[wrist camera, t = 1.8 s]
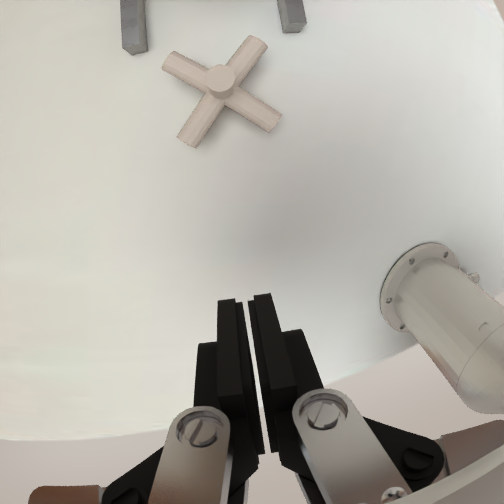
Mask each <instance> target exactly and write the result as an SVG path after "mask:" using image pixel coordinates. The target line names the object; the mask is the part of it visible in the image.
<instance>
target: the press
mask: <svg viewBox="0 0 504 504" xmlns="http://www.w3.org/2000/svg"><path fill="white" fill-rule="evenodd" d="M120 6H121V32H122V48H123V49H124V50H126V51H127V52H128V53H130V54H131V55H135V54H139V53H143V52H147V51H148V49H147V37H146V24H145V8H144V0H120ZM278 6H279V12H280V18H281V24H282V30H283V33H299V32H300V31H301V30H302V28H303V27H304V26H305V25H306V23H307V22H306V17H305V11H304V6H303V1H302V0H278Z"/></svg>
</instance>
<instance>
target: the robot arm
mask: <svg viewBox="0 0 504 504" xmlns="http://www.w3.org/2000/svg"><path fill="white" fill-rule="evenodd" d="M477 282H479V275H478V274H477V273H473V274H470V275H467V274H465V273H464V272H463V271H461V270H460V269H459V264H458V261H457V258H456V257H455V255H454V253H453V252H451V251H450V250H449V249H448V248H446V247H445V246H443V245H440V244H437V243H428V244H423V245H420V246H418V247H415V248H414V249H412V250H410V251H409V252H407V253H406V254H405V255H404V256H403V257H402V258H400V260H399V261H398V262H397V263H396V264H395V265H394V267H393V268H392V270H391V271H390V273H389V274H388V276H387V278H386V280H385V282H384V285H383V288H382V292H381V298H380V306H381V311H382V315H383V317H384V318H385V320H386V321H387V323H388V324H389V325H390V326H391V327H392V328H394V329H395V330H398V331H401V332H411V333H412V335H413V336H414V337H415V338H416V340H417V341H418V342H419V344H420V345H421V346H422V347H423V348H424V350H425V351H426V352H427V354H428V355H429V356H430V358H431V359H432V360H433V362H434V363H435V364H436V366H437V367H438V368H439V370H440V371H441V372H442V373H443V375H444V376H445V378H446V379H447V380H448V382H449V383H450V384H451V386H452V387H453V388H454V390H455V391H456V392H457V394H458V395H459V397H460V398H461V399H462V401H463V402H464V403H465V404H466V405H467V406H468V407H469V408H470V409H472V410H474V411H476V412H479V413H484V414H504V307H503V306H502V305H501V304H500V303H499V302H497V301H496V300H495V299H494V298H492V297H491V296H490V295H489V294H488V293H486V292H485V291H484V290H482V289H481V287H480V286H478V285H476V284H475V283H477ZM248 307H249V314H250V321H251V328H252V335H253V341H254V348H255V355H256V361H257V368H258V374H259V381H260V387H261V394H262V400H263V406H264V412H265V418H266V424H267V431H268V437H269V443H270V449H271V453H274V452H279V457H280V461H281V464H282V466H284V467H286V468H288V469H290V470H292V471H294V472H295V475H296V478H297V480H298V483H299V485H300V487H301V490H302V492H303V494H304V497H305V499H306V501H307V503H308V504H504V420H495V421H492V422H489V423H485V424H482V425H479V426H475V427H472V428H468V429H465V430H461V431H457V432H453V433H449V434H445V435H441V437H440V438H439V439H436V440H431V439H429V438H427V437H423V436H420V435H416V434H413V433H410V432H407V431H404V430H401V429H397V428H394V427H391V426H388V425H385V424H382V423H379V422H376V421H374V420H371V419H368V418H365V417H362V415H361V414H360V412H359V411H358V410H357V408H356V406H355V405H354V404H353V402H352V400H350V398H349V397H348V396H347V395H345V394H343V393H342V392H340V391H337V390H333V389H324V387H323V384H322V382H321V379H320V376H319V373H318V371H317V368H316V365H315V363H314V360H313V357H312V355H311V352H310V349H309V346H308V344H307V341H306V339H305V336H304V333H303V331H302V329H297V330H291V331H285V332H281V328H280V324H279V321H278V317H277V314H276V310H275V307H274V303H273V300H272V296H271V293H268V294H261V295H254V300H251V301H248ZM260 454H265V450H264V442H263V435H262V428H261V421H260V415H259V407H258V400H257V393H256V385H255V378H254V371H253V364H252V358H251V353H250V347H249V341H248V335H247V328H246V322H245V316H244V310H243V304H242V302H238V303H236V301H235V298H234V299H227V300H219V301H218V310H217V342H208V343H199V345H198V352H197V364H196V377H195V391H194V406H193V408H189V409H186V410H185V411H183V412H181V413H180V414H179V415H178V416H177V417H176V418H175V419H174V420H173V422H172V424H171V426H170V428H169V431H168V435H167V438H166V441H165V445H164V446H163V447H162V448H160V449H159V450H158V451H156V452H155V453H154V454H152V455H151V456H150V457H148V458H147V459H146V460H144V461H143V462H141V463H140V464H138V465H137V466H136V467H134V468H133V469H131V470H130V471H128V472H127V473H126V474H124V475H123V476H121V477H120V478H118V479H117V480H115V481H114V482H112V483H111V484H110V485H109V486H108V487H102V488H101V487H100V486H99V485H87V486H41V487H38V488H36V489H35V490H34V491H33V492H32V493H31V495H30V497H29V501H28V504H247V499H248V487H249V480H248V478H249V477H250V476H251V475H252V474H253V473H254V472H255V471H256V470H257V469H258V464H259V458H258V455H260Z"/></svg>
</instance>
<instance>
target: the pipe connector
mask: <svg viewBox="0 0 504 504" xmlns="http://www.w3.org/2000/svg"><path fill="white" fill-rule="evenodd" d="M267 48H268V47H267V45H266V44H265V42H263V41H262V40H261V39H259V38H257V37H255V36H252V35H250V36H248V37H247V38H246V40H245V41H244V42H243V43H242V45H241V46H240V47H239V48H238V50H237V51H236V52H235V54H234V55H233V56H232V57H231V59H230V60H229V61H228V63H227V64H226V65H216V66H213V67H211V68H210V69H207V68H206V67H204V66H202V65H200V64H198V63H196V62H195V61H193V60H191V59H189V58H187V57H185V56H183V55H181V54H179V53H177V52H175V51H173V52H171V53H170V54H169V55H168V56H167V58H166V59H165V61H164V63H163V65H162V70H164V71H166V72H167V73H169V74H171V75H173V76H175V77H177V78H179V79H181V80H182V81H184V82H186V83H188V84H190V85H192V86H193V87H195V88H197V89H199V90H200V91H202V92H204V93H205V95H204V96H203V97H202V99H201V100H200V102H199V103H198V105H197V106H196V108H195V109H194V111H193V112H192V114H191V115H190V117H189V118H188V120H187V121H186V123H185V125H184V126H183V128H182V129H181V131H180V132H179V134H178V136H177V138H178V139H180V140H181V141H183V142H184V143H186V144H188V145H190V146H192V147H194V148H197V146H198V145H199V143H200V142H201V140H202V139H203V137H204V136H205V134H206V133H207V131H208V130H209V128H210V127H211V125H212V124H213V122H214V121H215V119H216V118H217V116H218V115H219V113H220V112H221V110H222V109H223V107H224V106H228V107H229V108H231V109H233V110H234V111H236V112H237V113H239V114H241V115H242V116H244V117H245V118H247V119H249V120H250V121H252V122H253V123H255V124H256V125H258V126H259V127H261V128H262V129H264V130H265V131H267V132H268V133H269V132H270V131H271V130H272V129H273V128H274V126H275V125H276V124H277V122H278V121H279V119H280V118H281V116H282V114H280V113H279V112H277V111H276V110H274V109H273V108H271V107H270V106H268V105H267V104H265V103H264V102H262V101H261V100H259V99H258V98H256V97H254V96H253V95H251V94H250V93H248V92H246V91H245V90H243V89H242V88H240V87H238V86H239V85H240V83H241V82H242V81H243V79H244V78H245V77H246V75H247V74H248V73H249V71H250V70H251V69H252V67H253V66H254V65H255V63H256V62H257V61H258V60H259V58H260V57H261V56H262V54H263V53H264V52H265V51H266V49H267Z"/></svg>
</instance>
